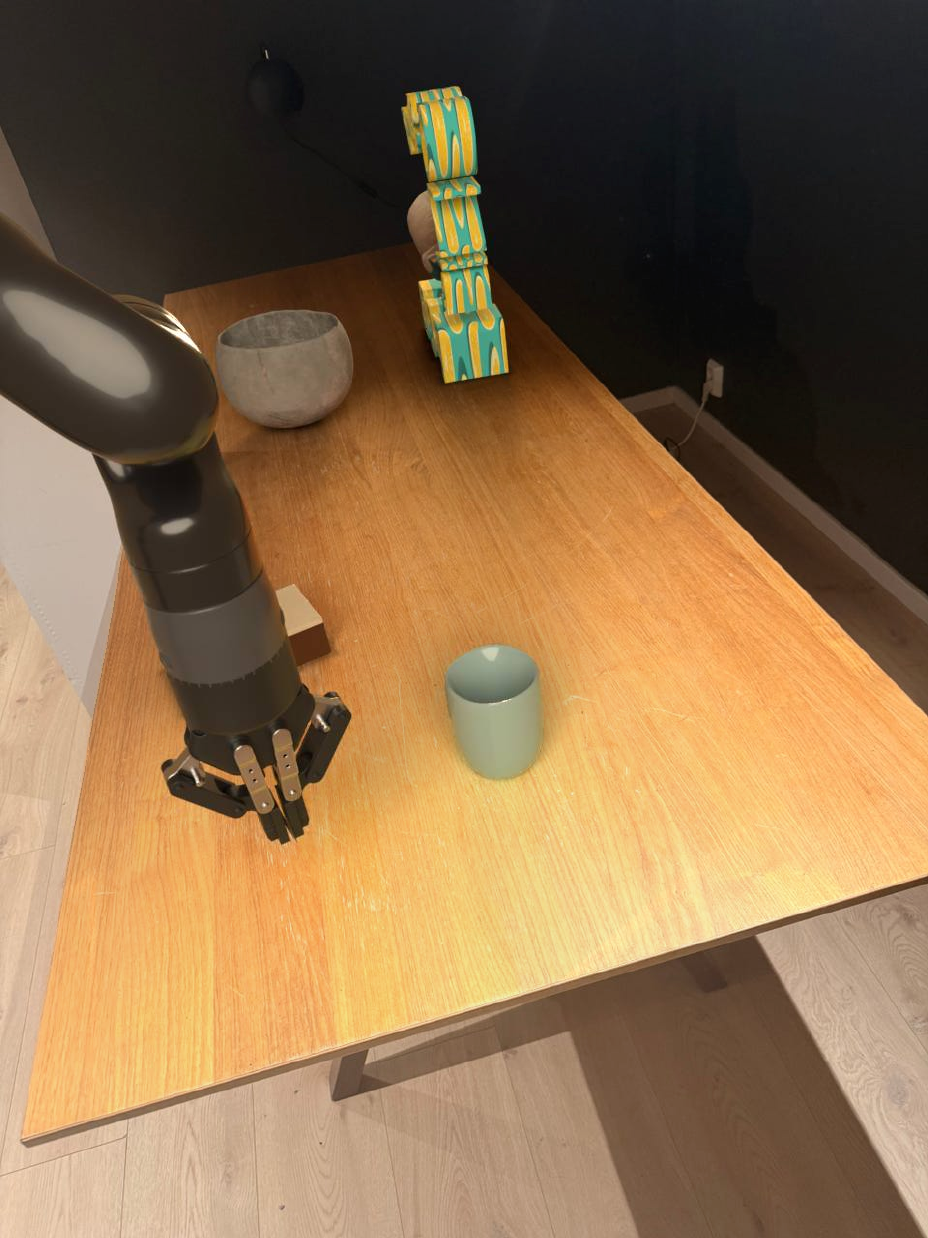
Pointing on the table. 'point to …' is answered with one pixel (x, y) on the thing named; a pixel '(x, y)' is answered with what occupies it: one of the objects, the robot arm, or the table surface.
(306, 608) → the slice
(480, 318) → the party decoration
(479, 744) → the cup
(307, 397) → the bowl
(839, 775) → the table surface
